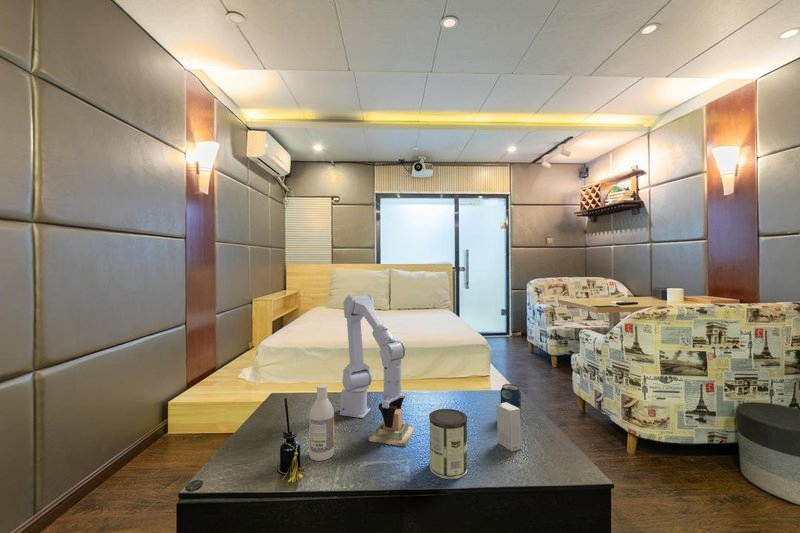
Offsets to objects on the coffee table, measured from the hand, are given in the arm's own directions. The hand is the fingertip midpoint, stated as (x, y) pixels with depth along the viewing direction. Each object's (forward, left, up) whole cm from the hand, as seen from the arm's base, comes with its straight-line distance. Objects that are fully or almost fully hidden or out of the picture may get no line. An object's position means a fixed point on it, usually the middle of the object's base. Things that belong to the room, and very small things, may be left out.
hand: (392, 421), depth 111 cm
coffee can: (+20, -13, -5) cm, 24 cm away
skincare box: (+36, +4, -5) cm, 37 cm away
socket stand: (0, 0, -4) cm, 4 cm away
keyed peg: (0, 0, -3) cm, 3 cm away
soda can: (+37, +23, -5) cm, 44 cm away
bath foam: (-16, -17, -5) cm, 24 cm away
